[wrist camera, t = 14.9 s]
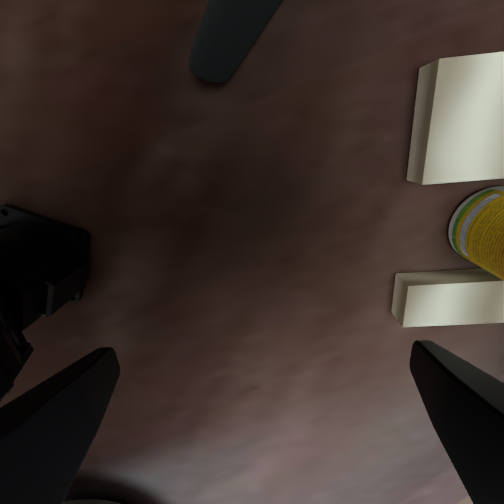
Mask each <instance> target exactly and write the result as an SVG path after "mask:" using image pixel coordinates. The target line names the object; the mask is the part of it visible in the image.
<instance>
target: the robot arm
mask: <svg viewBox="0 0 504 504" xmlns="http://www.w3.org/2000/svg"><path fill="white" fill-rule="evenodd" d="M6 210H7V212H8V213H7V212H6ZM80 235H82V236H83V237H84V239H82V238H81V237H80ZM89 243H90V235H89V233H88V232H86V231H85V230H82V229H79V228H76V227H73V226H70V225H67V224H64V223H61V222H58V221H55V220H52V219H49V218H46V217H43V216H41V215H38V214H35V213H32V212H29V211H26V210H23V209H20V208H17V207H14V206H11V205H3V206H0V401H1V400H2V399H3V397H4V396H5V395H6V394H7V393H8V392H9V391H10V390H11V388H12V387H13V385H14V383H13V382H14V380H15V378H16V377H17V375H18V374H19V372H20V371H21V369H22V367H23V366H24V364H25V363H26V361H27V360H28V358H29V356H30V355H31V353H32V352H33V348H32V346H31V344H30V343H27V341H26V339H25V337H24V335H23V333H22V331H23V330H24V329H26V328H27V327H28V326H29V325H31V324H32V323H33V322H35V321H36V320H37V319H38V318H40V317H41V316H42V315H43V316H46V317H48V316H50V315H52V314H53V313H54V312H56V311H57V310H58V309H59V308H60V307H62V306H63V305H64V304H65V303H67V302H71V303H76V302H78V301H79V300H80V299H81V297H82V290H83V289H84V288H85V285H86V278H87V271H88V265H89V261H88V259H87V256H88V249H89ZM74 296H75V298H74ZM410 370H411V373H412V376H413V378H414V381H415V383H416V386H417V388H418V390H419V393H420V395H421V398H422V400H423V403H424V405H425V408H426V410H427V413H428V415H429V418H430V420H431V422H432V424H433V427H434V429H435V431H436V433H437V435H438V437H439V439H440V441H441V442H442V444H443V446H444V448H445V450H446V452H447V454H448V456H449V458H450V460H451V462H452V463H453V465H454V467H455V469H456V471H457V473H458V475H459V477H460V479H461V481H462V483H463V484H464V486H465V488H466V490H467V492H468V494H469V496H470V498H471V500H472V502H473V504H504V383H503V382H501V381H499V380H498V379H496V378H494V377H492V376H491V375H489V374H487V373H485V372H484V371H482V370H480V369H479V368H477V367H475V366H473V365H472V364H470V363H468V362H467V361H465V360H463V359H461V358H460V357H458V356H456V355H455V354H453V353H451V352H449V351H448V350H446V349H444V348H442V347H441V346H439V345H437V344H436V343H434V342H432V341H429V340H417V341H415V342H414V343H413V346H412V351H411V357H410ZM119 375H120V366H119V362H118V359H117V356H116V353H115V350H114V349H113V348H111V347H101V348H98V349H96V350H94V351H93V352H91V353H89V354H88V355H86V356H84V357H83V358H81V359H80V360H78V361H76V362H75V363H73V364H71V365H70V366H68V367H66V368H65V369H63V370H62V371H60V372H58V373H57V374H55V375H53V376H52V377H50V378H48V379H47V380H45V381H44V382H42V383H40V384H39V385H37V386H35V387H34V388H32V389H31V390H29V391H27V392H26V393H24V394H22V395H21V396H19V397H17V398H16V399H14V400H13V401H11V402H9V403H8V404H6V405H4V406H3V407H1V408H0V504H62V503H63V501H64V499H65V496H66V494H67V492H68V490H69V488H70V486H71V484H72V482H73V480H74V478H75V476H76V474H77V472H78V470H79V468H80V466H81V464H82V462H83V460H84V458H85V456H86V454H87V452H88V450H89V448H90V445H91V443H92V441H93V439H94V437H95V435H96V433H97V431H98V429H99V427H100V424H101V422H102V420H103V417H104V415H105V412H106V409H107V407H108V404H109V402H110V399H111V396H112V394H113V391H114V388H115V386H116V383H117V381H118V378H119Z"/></svg>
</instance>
